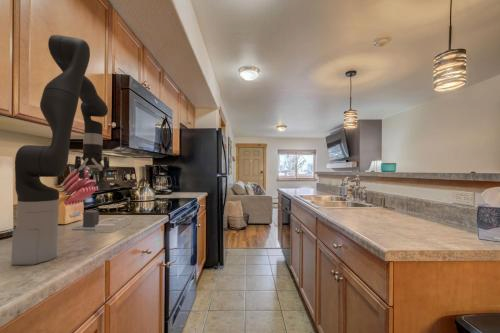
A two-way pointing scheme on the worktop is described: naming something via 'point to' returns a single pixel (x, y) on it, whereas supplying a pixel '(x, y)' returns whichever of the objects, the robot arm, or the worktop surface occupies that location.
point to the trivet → (84, 228)
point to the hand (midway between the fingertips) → (91, 179)
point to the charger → (90, 218)
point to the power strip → (112, 224)
